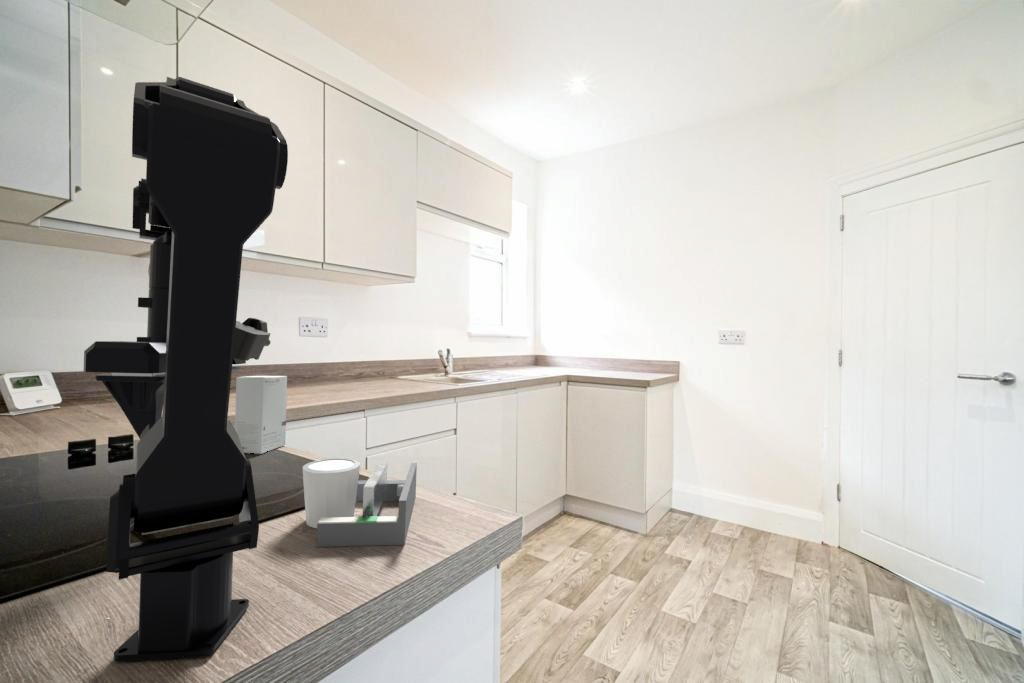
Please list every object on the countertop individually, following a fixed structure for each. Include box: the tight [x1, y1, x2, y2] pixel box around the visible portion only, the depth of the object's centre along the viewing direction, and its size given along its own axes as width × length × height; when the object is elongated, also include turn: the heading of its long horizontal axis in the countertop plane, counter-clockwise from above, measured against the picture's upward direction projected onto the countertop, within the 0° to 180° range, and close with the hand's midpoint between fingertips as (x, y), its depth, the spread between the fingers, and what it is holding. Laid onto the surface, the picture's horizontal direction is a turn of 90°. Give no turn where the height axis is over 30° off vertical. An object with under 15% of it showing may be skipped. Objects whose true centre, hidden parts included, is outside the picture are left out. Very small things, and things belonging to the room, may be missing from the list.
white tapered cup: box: [302, 458, 361, 529], centre depth 57 cm, size 7×7×7 cm
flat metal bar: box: [361, 461, 388, 518], centre depth 57 cm, size 13×1×4 cm, turn 8°
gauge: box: [316, 462, 418, 548], centre depth 58 cm, size 16×10×5 cm, turn 8°
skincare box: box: [234, 375, 288, 455], centre depth 91 cm, size 8×6×15 cm
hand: (177, 433), depth 50 cm, fingers open, 9 cm apart
